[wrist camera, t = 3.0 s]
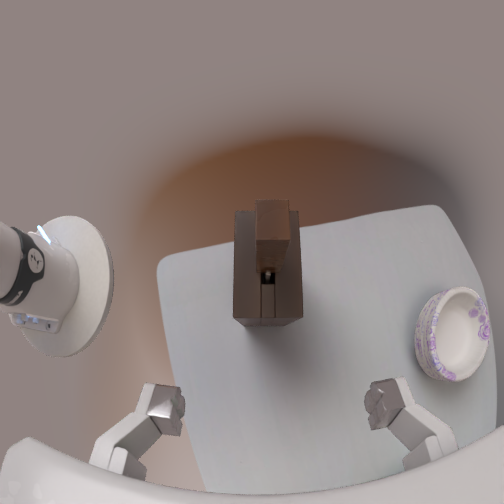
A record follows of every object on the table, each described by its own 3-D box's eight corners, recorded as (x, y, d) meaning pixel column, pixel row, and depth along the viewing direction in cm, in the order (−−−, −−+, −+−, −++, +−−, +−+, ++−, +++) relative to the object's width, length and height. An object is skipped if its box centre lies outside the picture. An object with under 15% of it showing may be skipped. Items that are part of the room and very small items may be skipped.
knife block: (282, 261, 43) (298, 210, 26) (283, 325, 40) (303, 317, 23) (244, 261, 43) (235, 210, 26) (243, 326, 40) (232, 318, 23)
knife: (273, 267, 32) (288, 196, 16) (274, 292, 31) (291, 243, 15) (256, 267, 32) (255, 196, 16) (256, 292, 31) (255, 243, 15)
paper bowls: (474, 334, 37) (501, 331, 30) (430, 394, 35) (457, 401, 27) (438, 277, 41) (463, 266, 34) (388, 336, 39) (413, 334, 31)
